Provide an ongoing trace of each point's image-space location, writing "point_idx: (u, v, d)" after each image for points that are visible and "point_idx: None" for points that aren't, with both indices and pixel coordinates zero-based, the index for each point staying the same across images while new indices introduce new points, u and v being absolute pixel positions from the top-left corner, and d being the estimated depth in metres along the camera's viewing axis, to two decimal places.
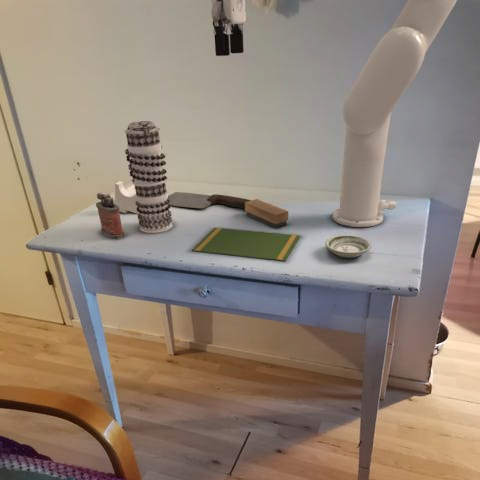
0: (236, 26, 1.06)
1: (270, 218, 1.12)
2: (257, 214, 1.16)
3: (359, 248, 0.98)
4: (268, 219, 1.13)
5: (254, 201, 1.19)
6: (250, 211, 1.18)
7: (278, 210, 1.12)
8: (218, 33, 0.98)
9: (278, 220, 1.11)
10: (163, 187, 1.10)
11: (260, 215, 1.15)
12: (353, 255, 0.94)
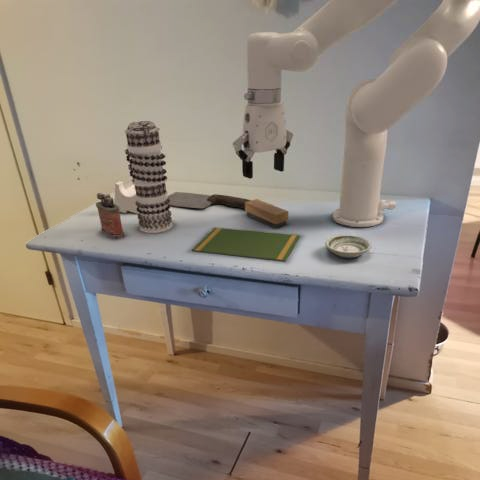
0: None
1: (270, 218, 1.12)
2: (257, 214, 1.16)
3: (359, 248, 0.98)
4: (268, 219, 1.13)
5: (254, 201, 1.19)
6: (250, 211, 1.18)
7: (278, 210, 1.12)
8: (242, 159, 1.06)
9: (278, 220, 1.11)
10: (163, 187, 1.10)
11: (260, 215, 1.15)
12: (353, 255, 0.94)
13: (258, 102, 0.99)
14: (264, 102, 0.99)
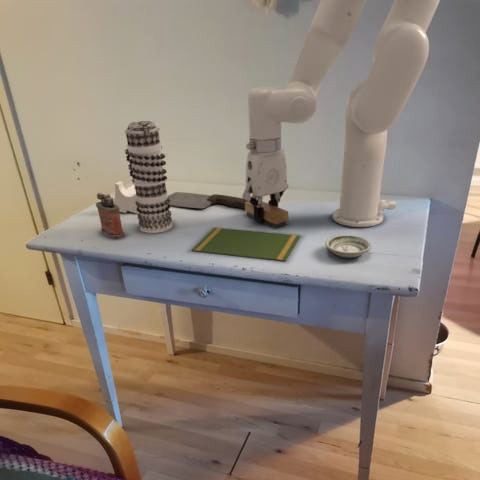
0: None
1: (270, 218, 1.12)
2: None
3: (359, 248, 0.98)
4: (268, 219, 1.13)
5: None
6: (250, 211, 1.18)
7: (278, 210, 1.12)
8: (254, 205, 1.13)
9: (278, 220, 1.11)
10: (163, 187, 1.10)
11: None
12: (353, 255, 0.94)
13: (260, 151, 1.05)
14: (265, 151, 1.05)
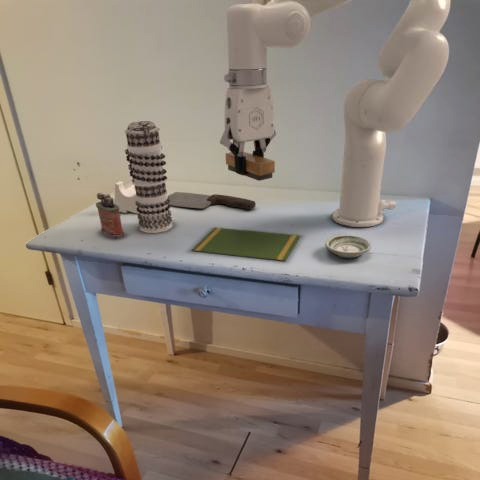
0: None
1: (253, 169, 0.95)
2: None
3: (359, 248, 0.98)
4: (251, 170, 0.96)
5: None
6: (231, 163, 1.01)
7: (262, 160, 0.95)
8: (234, 154, 0.96)
9: (262, 171, 0.94)
10: (163, 187, 1.10)
11: None
12: (353, 255, 0.94)
13: (240, 84, 0.88)
14: (247, 84, 0.87)
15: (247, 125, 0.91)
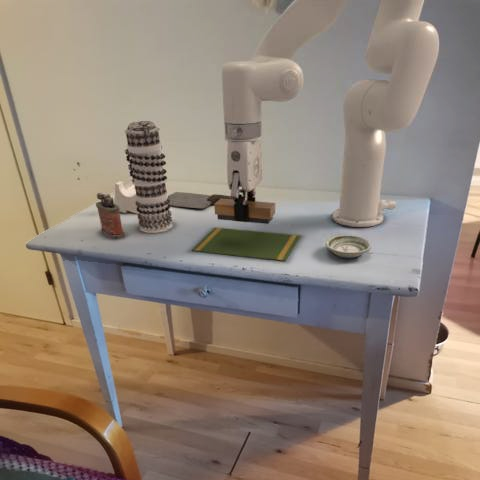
0: None
1: (260, 214, 0.98)
2: None
3: (359, 248, 0.98)
4: (257, 216, 0.98)
5: (223, 201, 1.01)
6: (224, 213, 1.00)
7: (264, 204, 0.99)
8: (238, 204, 0.96)
9: (271, 214, 0.98)
10: (163, 187, 1.10)
11: None
12: (353, 255, 0.94)
13: (247, 137, 0.89)
14: (253, 137, 0.89)
15: (253, 174, 0.93)
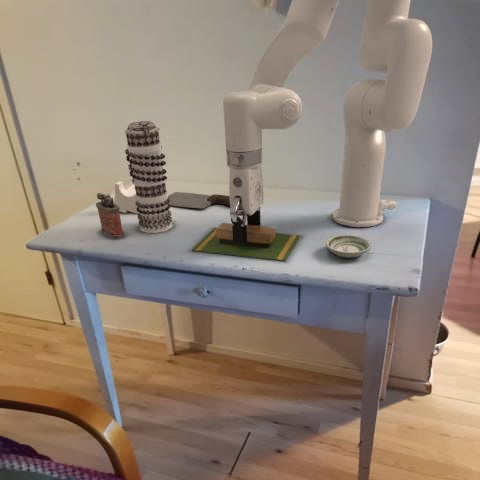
0: None
1: (261, 239, 1.01)
2: None
3: (359, 248, 0.98)
4: (257, 240, 1.01)
5: (225, 226, 1.04)
6: (226, 237, 1.03)
7: (265, 229, 1.02)
8: (236, 225, 0.97)
9: (271, 239, 1.01)
10: (163, 187, 1.10)
11: None
12: (353, 255, 0.94)
13: (248, 164, 0.92)
14: (254, 163, 0.92)
15: (254, 199, 0.96)
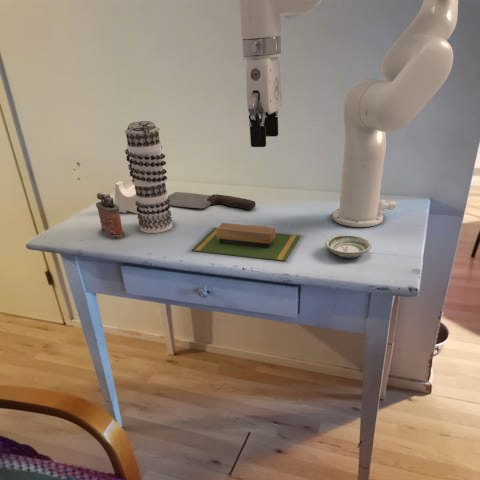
0: None
1: (261, 239, 1.01)
2: (238, 238, 1.03)
3: (359, 248, 0.98)
4: (257, 240, 1.01)
5: (225, 226, 1.04)
6: (226, 237, 1.03)
7: (265, 229, 1.02)
8: (254, 126, 0.90)
9: (271, 239, 1.01)
10: (163, 187, 1.10)
11: (244, 238, 1.02)
12: (353, 255, 0.94)
13: (267, 53, 0.85)
14: (273, 53, 0.85)
15: (273, 96, 0.90)
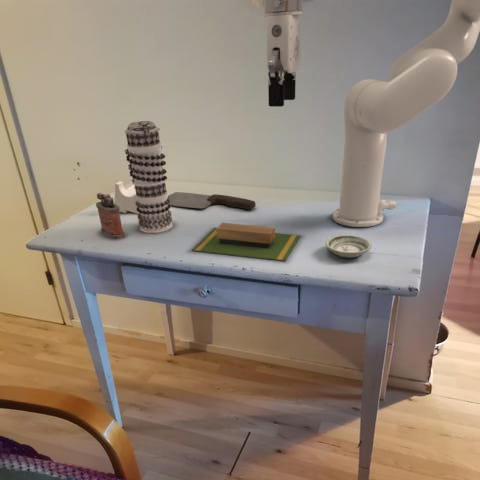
0: None
1: (261, 239, 1.01)
2: (238, 238, 1.03)
3: (359, 248, 0.98)
4: (257, 240, 1.01)
5: (225, 226, 1.04)
6: (226, 237, 1.03)
7: (265, 229, 1.02)
8: (273, 84, 0.91)
9: (271, 239, 1.01)
10: (163, 187, 1.10)
11: (244, 238, 1.02)
12: (353, 255, 0.94)
13: (288, 10, 0.86)
14: (295, 9, 0.86)
15: (293, 54, 0.90)
